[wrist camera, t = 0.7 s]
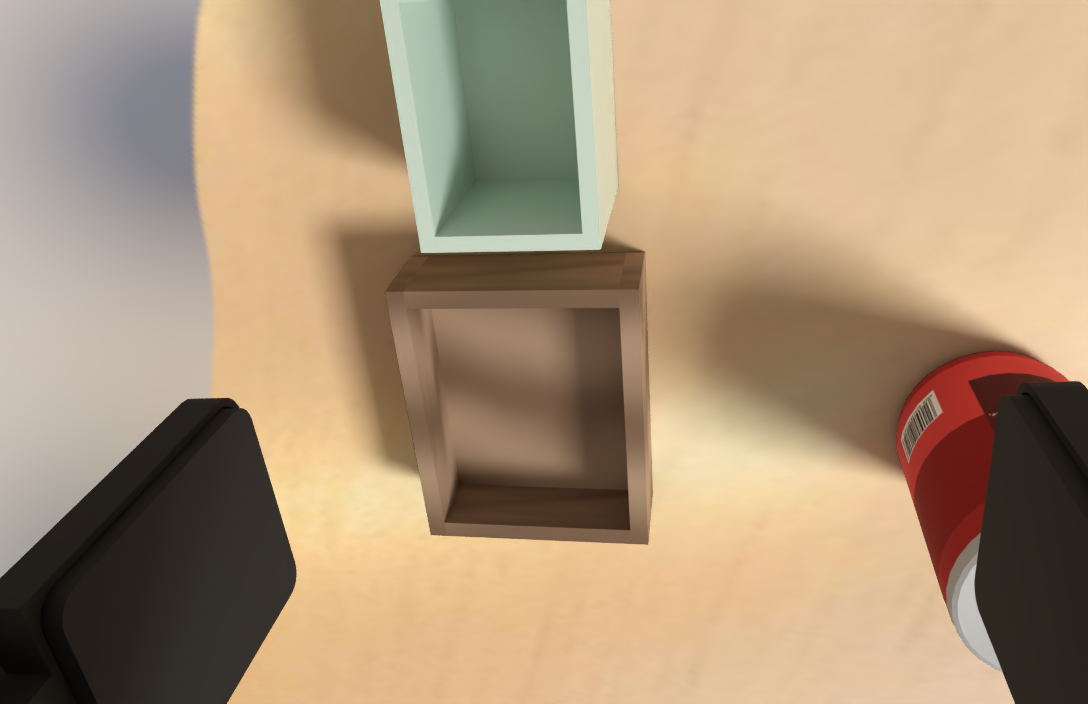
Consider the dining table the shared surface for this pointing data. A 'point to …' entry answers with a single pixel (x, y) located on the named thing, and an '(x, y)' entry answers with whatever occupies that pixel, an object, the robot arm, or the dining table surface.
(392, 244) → the dining table surface
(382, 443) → the dining table surface
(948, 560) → the canned food
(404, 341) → the large crate
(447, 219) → the small crate
